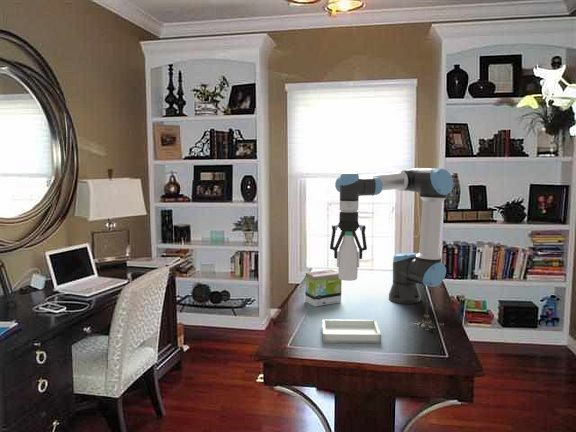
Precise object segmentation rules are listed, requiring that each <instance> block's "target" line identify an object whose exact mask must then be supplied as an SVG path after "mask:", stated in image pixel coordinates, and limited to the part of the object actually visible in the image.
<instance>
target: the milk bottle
mask: <svg viewBox="0 0 576 432" xmlns="http://www.w3.org/2000/svg"><path fill="white" fill-rule="evenodd" d="M338 250H339V267H338V269H337V270H338V271H337V272H338V277H339V279H341V280H342V281H346V282H347V281H349V282H351V281H356V280H357V279H358V267H357V257H358V252H357V250H358V246H357V243H356V241H355V238H354V235H353V233H352V231H346V232H345V234H344V236H343V238H342V241H341V243H340V245H339V248H338Z"/></svg>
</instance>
